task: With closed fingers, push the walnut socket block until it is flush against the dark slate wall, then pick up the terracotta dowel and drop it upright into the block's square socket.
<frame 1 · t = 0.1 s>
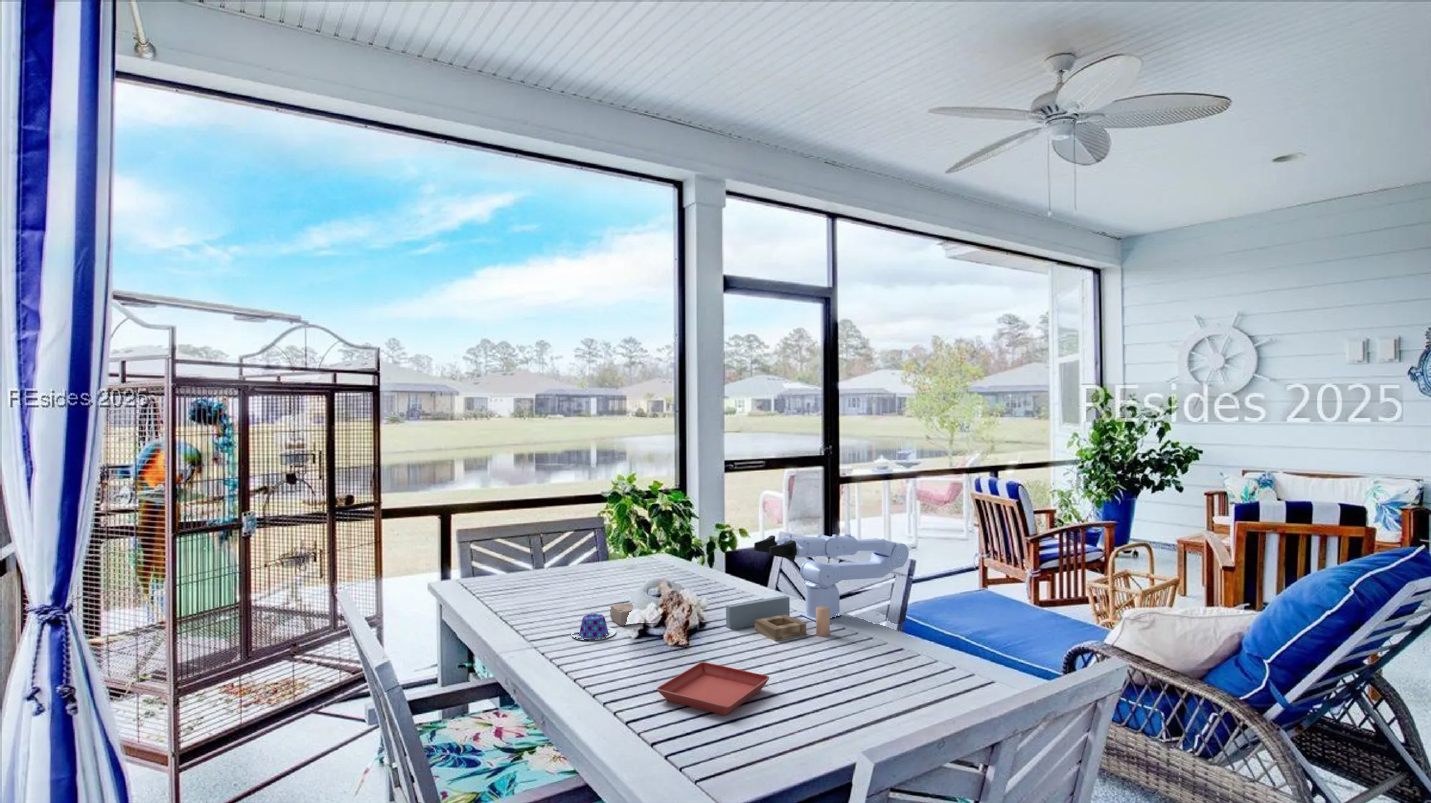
hand: (762, 548, 205), 22 cm above the table, tool horizontal, fingers open, 7 cm apart
socket block: (780, 632, 200), on the table
wall: (758, 622, 209), on the table
pudding: (593, 636, 200), on the table
plant saucer: (714, 698, 158), on the table
dowel: (823, 634, 198), on the table
brick: (641, 620, 214), on the table
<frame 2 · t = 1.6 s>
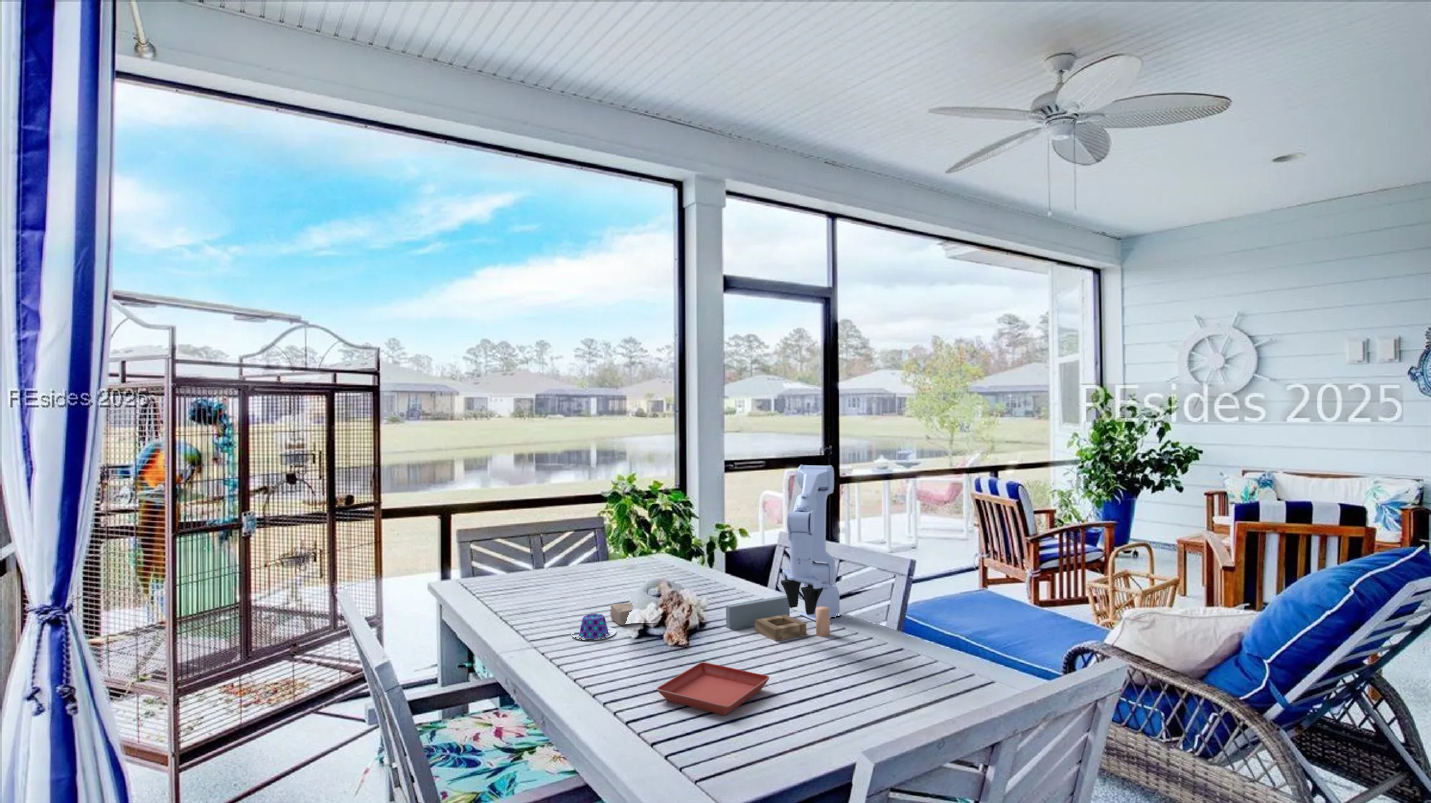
hand: (801, 610, 191), 8 cm above the table, tool pointing down, fingers open, 7 cm apart
nothing on the table moved.
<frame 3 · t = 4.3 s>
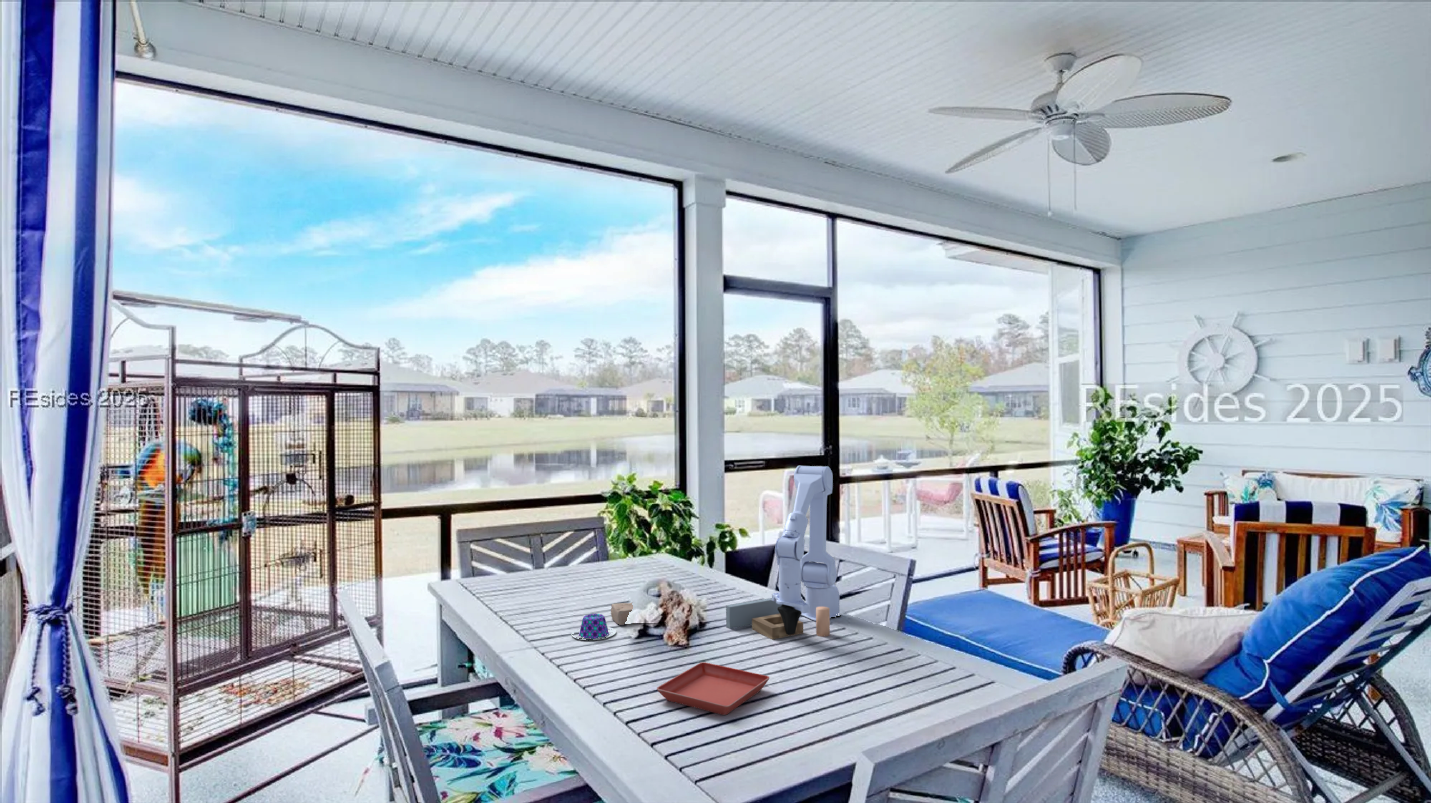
hand: (790, 633, 196), 1 cm above the table, tool pointing down, fingers closed
socket block: (777, 631, 201), on the table, touching gripper
everything else where it was.
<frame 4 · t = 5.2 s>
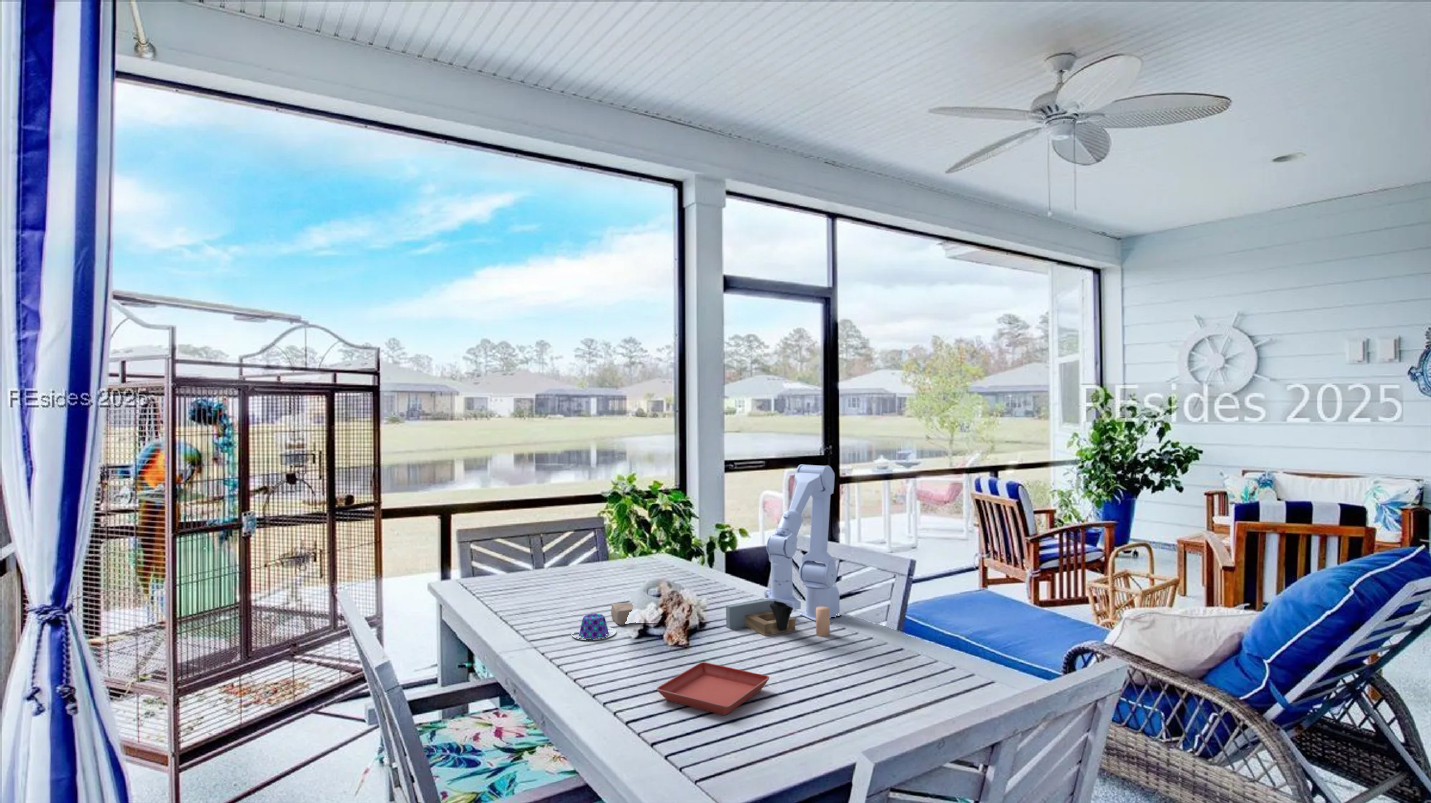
hand: (782, 630, 199), 1 cm above the table, tool pointing down, fingers closed
socket block: (770, 627, 204), on the table, touching gripper, wall
everything else where it was.
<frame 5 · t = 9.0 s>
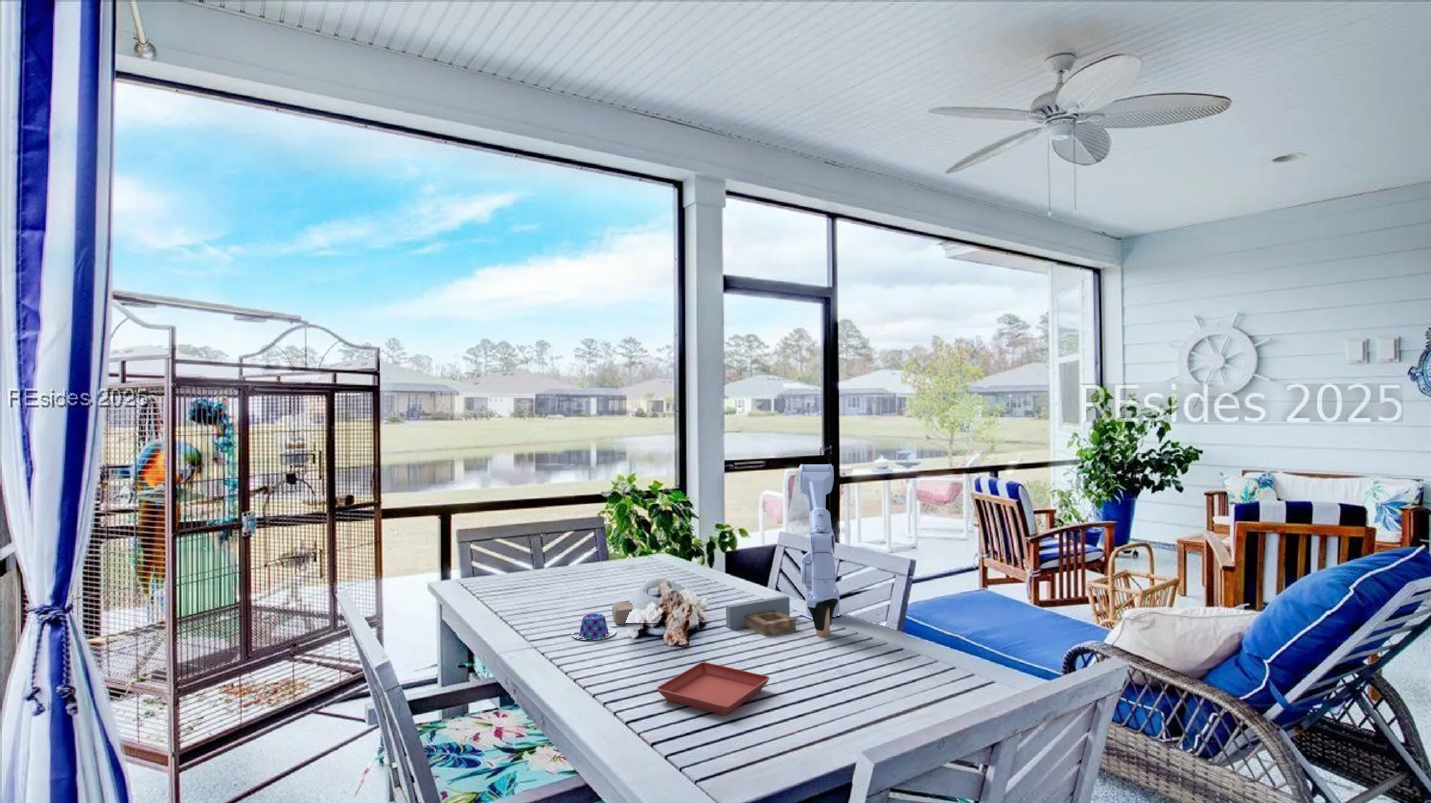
hand: (822, 628, 198), 2 cm above the table, tool pointing down, fingers closed on dowel, 4 cm apart
socket block: (770, 628, 204), on the table
dowel: (823, 634, 198), on the table, touching gripper
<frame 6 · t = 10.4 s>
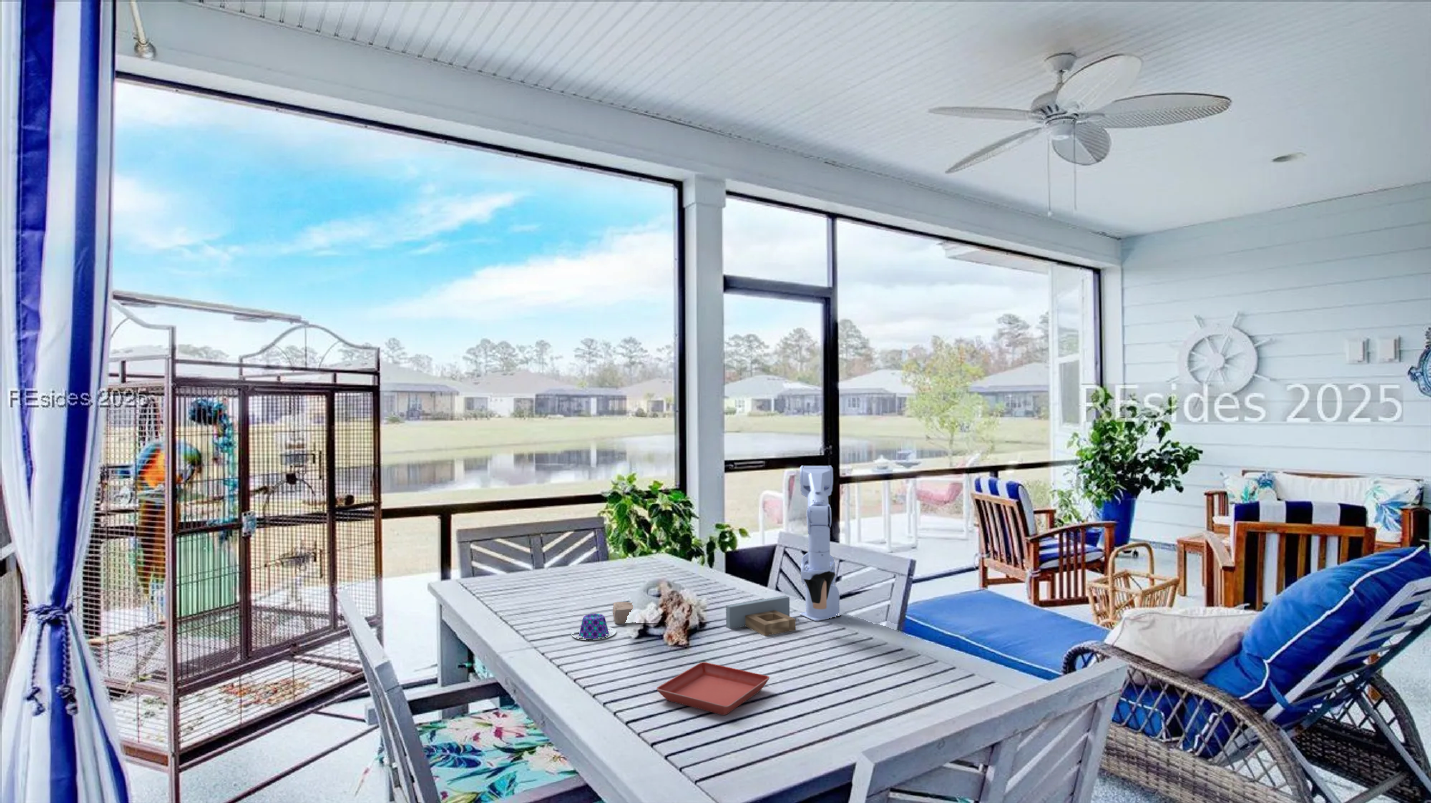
hand: (819, 600, 198), 9 cm above the table, tool pointing down, fingers closed on dowel, 4 cm apart
dowel: (819, 607, 198), point 7 cm above the table, touching gripper
when the fingers open (6 cm above the table, at t = 12.2 s): dowel drops 4 cm, resting in socket block.
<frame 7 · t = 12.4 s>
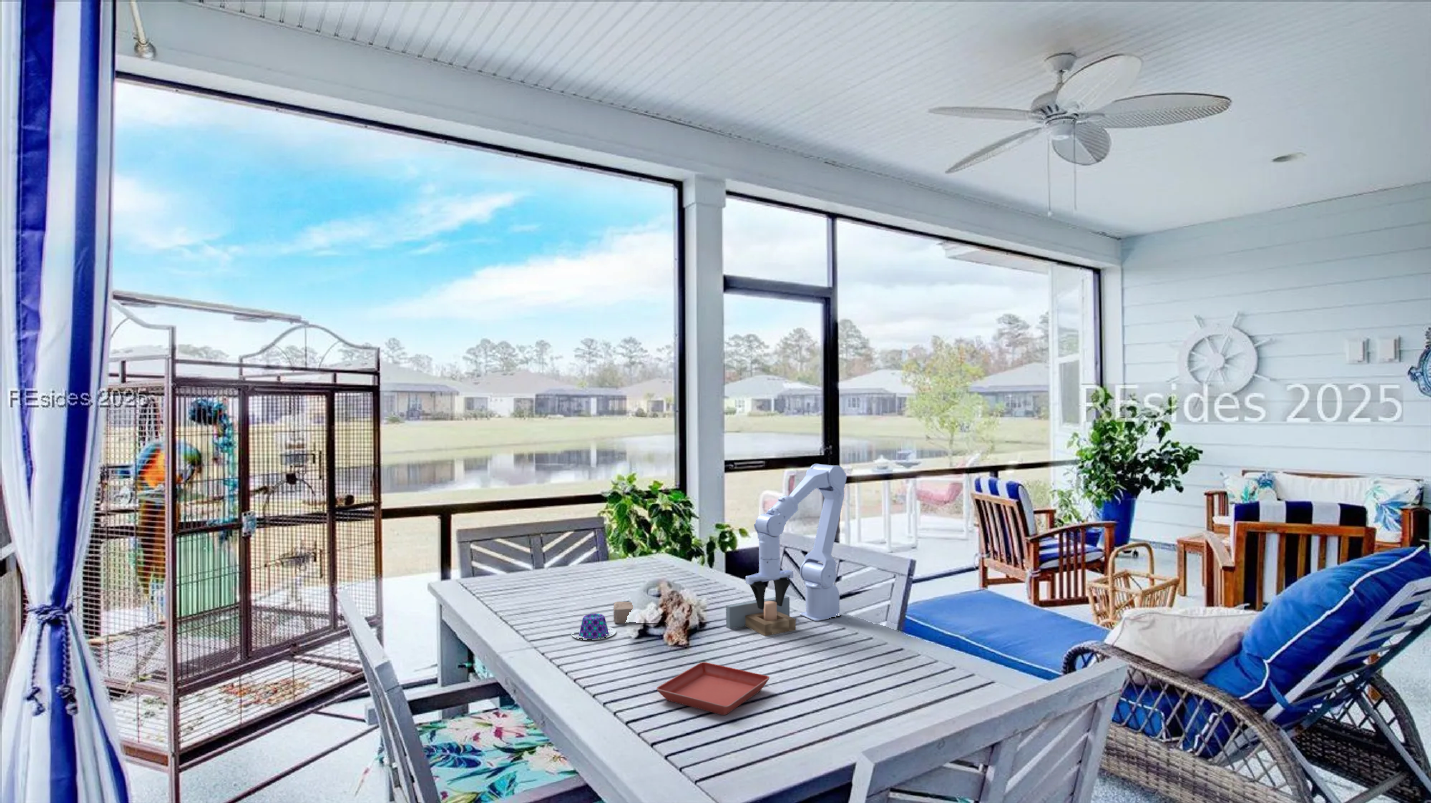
hand: (770, 606, 204), 6 cm above the table, tool pointing down, fingers open, 5 cm apart
dowel: (770, 628, 204), resting in socket block
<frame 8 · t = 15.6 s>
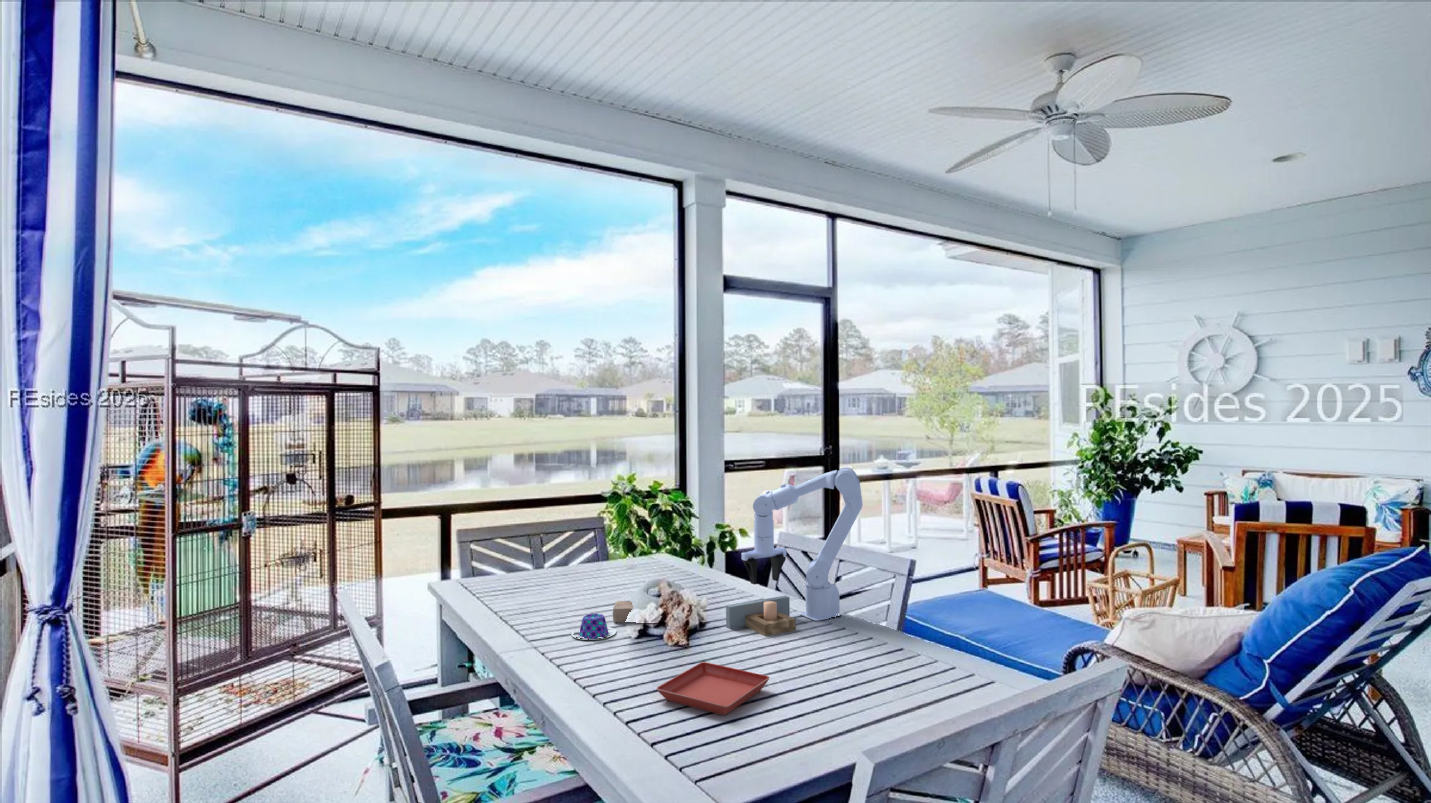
hand: (764, 582, 217), 9 cm above the table, tool pointing down, fingers open, 7 cm apart
at the end: dowel 0.1 cm from the socket block (horizontally); dowel tilted 0°; socket block inside the target area (0.9 cm from its centre), on the table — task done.
